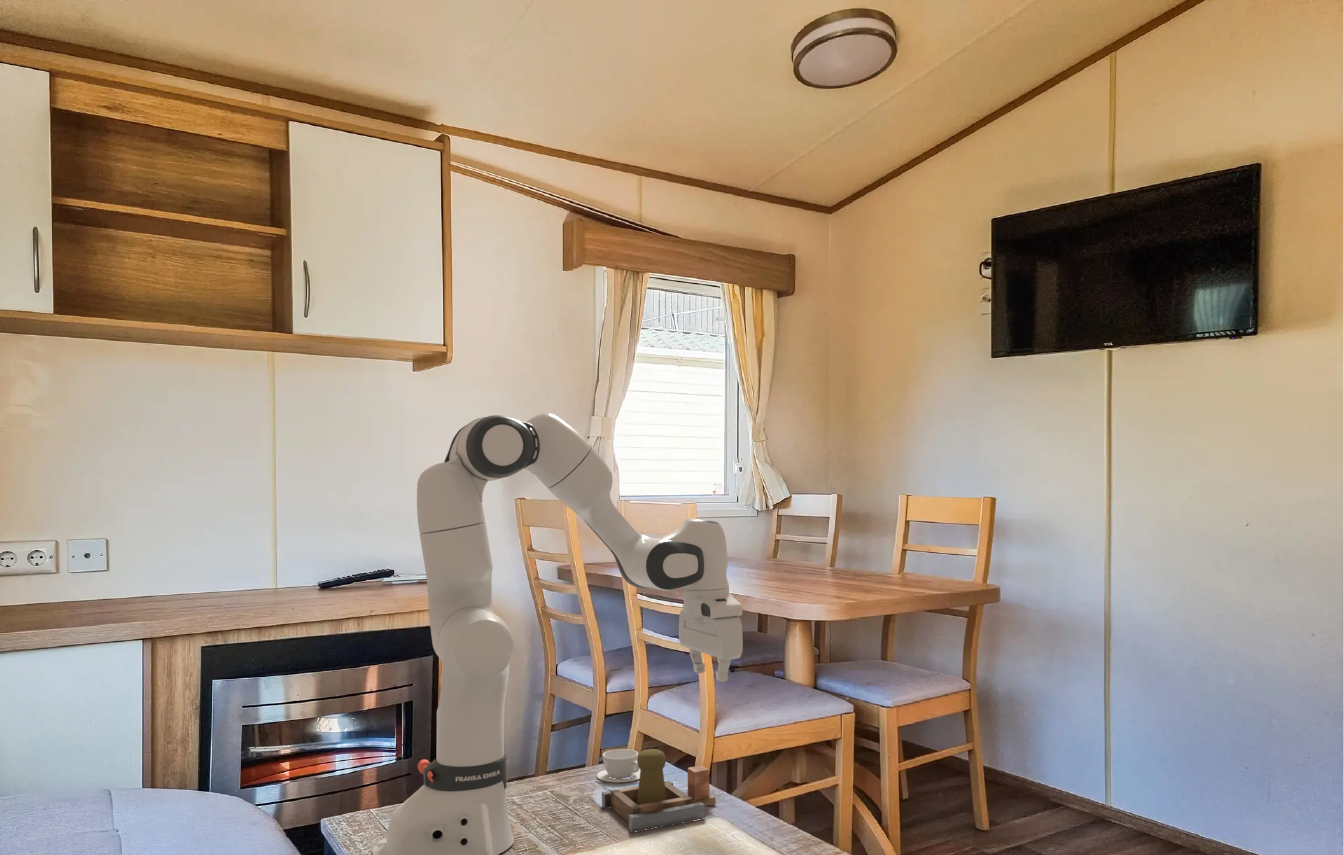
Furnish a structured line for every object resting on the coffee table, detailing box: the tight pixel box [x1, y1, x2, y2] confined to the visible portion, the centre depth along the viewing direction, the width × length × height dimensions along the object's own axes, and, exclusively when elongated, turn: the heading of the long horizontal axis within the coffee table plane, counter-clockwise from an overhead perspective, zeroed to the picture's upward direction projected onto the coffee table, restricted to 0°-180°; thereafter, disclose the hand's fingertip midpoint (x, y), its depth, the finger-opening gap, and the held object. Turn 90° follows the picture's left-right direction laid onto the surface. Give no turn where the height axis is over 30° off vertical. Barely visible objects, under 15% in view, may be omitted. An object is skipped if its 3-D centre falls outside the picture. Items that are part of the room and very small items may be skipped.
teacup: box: [596, 748, 640, 783], centre depth 179 cm, size 10×10×5 cm
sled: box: [610, 765, 717, 824], centre depth 158 cm, size 18×11×6 cm, turn 115°
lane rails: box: [601, 780, 706, 833], centre depth 157 cm, size 14×15×2 cm
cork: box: [637, 748, 667, 805], centre depth 157 cm, size 6×6×11 cm
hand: (710, 676), depth 164 cm, fingers open, 8 cm apart
